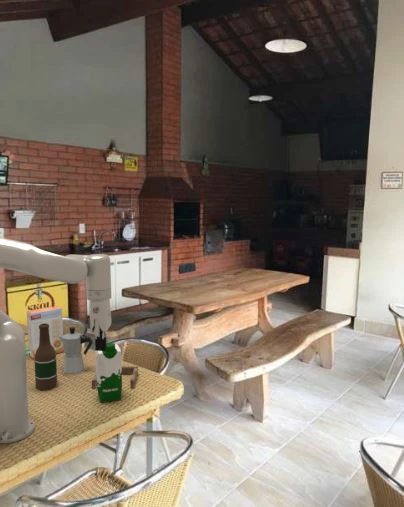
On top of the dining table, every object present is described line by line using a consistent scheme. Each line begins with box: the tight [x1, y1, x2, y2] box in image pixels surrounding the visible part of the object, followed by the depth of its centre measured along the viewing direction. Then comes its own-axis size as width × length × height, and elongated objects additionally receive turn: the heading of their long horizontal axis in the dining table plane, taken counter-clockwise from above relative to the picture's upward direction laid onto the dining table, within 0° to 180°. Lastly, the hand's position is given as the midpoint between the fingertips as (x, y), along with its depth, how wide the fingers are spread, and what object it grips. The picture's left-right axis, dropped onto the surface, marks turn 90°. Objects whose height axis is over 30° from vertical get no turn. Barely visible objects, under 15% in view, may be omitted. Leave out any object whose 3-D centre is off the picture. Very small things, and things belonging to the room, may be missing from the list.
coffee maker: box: [58, 326, 94, 375], centre depth 173 cm, size 15×9×18 cm, turn 80°
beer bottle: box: [33, 323, 58, 392], centre depth 157 cm, size 8×8×24 cm
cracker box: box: [26, 305, 64, 360], centre depth 190 cm, size 14×6×21 cm, turn 130°
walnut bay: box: [91, 365, 139, 389], centre depth 164 cm, size 13×15×3 cm
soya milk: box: [94, 342, 123, 403], centre depth 150 cm, size 9×9×20 cm
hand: (101, 349), depth 136 cm, fingers closed
